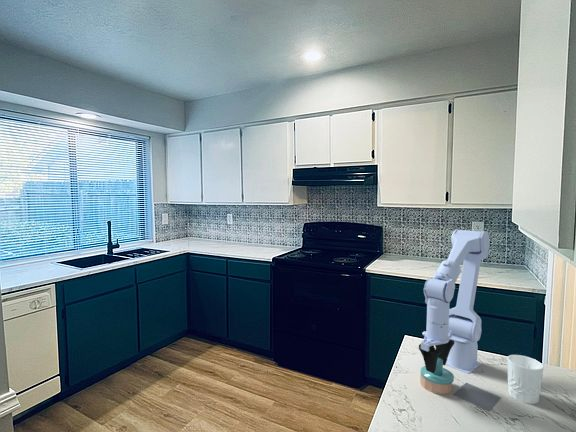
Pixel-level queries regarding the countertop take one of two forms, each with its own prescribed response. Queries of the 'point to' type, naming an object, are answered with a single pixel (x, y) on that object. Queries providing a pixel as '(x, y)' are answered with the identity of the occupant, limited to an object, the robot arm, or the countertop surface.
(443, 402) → the countertop surface
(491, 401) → the mat
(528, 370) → the white cup
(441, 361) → the lid
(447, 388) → the bowl
